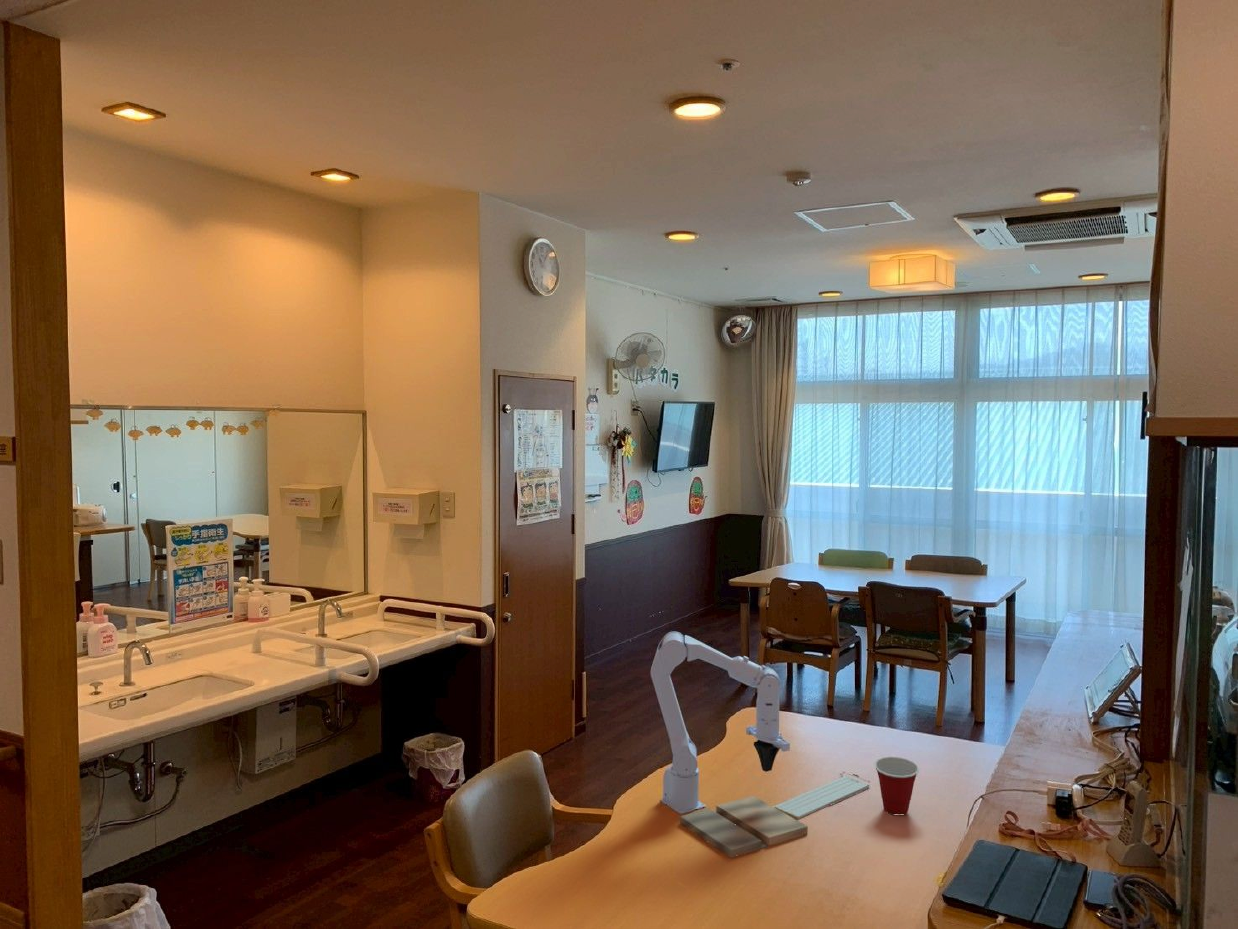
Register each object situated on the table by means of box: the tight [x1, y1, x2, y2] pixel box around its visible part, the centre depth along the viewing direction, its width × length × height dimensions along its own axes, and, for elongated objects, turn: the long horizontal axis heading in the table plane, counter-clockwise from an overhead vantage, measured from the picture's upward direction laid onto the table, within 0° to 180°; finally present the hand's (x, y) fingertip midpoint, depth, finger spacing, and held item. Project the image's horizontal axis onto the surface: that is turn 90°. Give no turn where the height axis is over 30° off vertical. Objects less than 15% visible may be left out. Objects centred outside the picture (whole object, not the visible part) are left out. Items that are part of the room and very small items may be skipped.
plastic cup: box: [874, 756, 920, 815], centre depth 228 cm, size 11×11×12 cm
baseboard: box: [773, 771, 870, 820], centre depth 236 cm, size 30×3×10 cm
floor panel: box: [679, 808, 768, 859], centre depth 214 cm, size 20×10×2 cm, turn 31°
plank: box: [715, 795, 809, 846], centre depth 221 cm, size 20×12×2 cm, turn 31°
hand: (766, 770), depth 229 cm, fingers closed
